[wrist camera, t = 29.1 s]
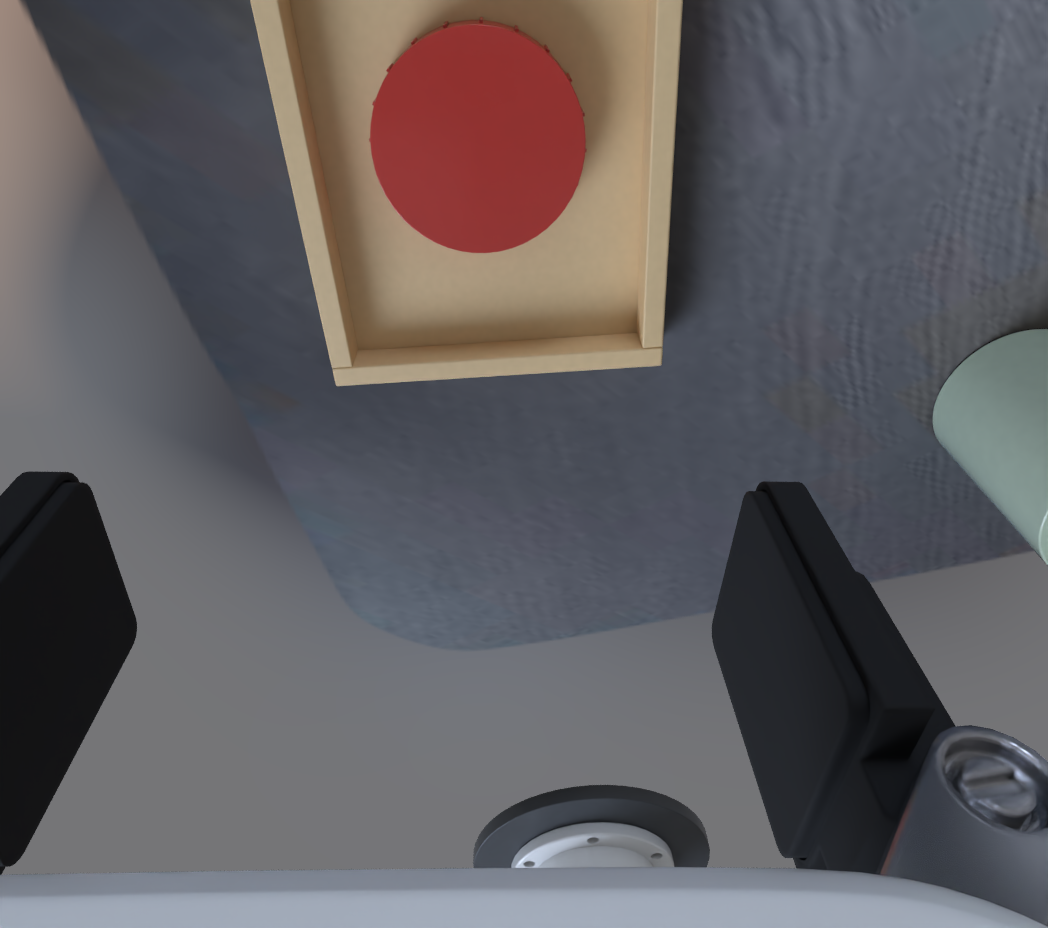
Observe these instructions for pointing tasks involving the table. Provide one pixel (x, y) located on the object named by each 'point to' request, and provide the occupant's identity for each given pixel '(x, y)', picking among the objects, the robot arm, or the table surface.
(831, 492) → the table surface
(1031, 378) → the jam jar
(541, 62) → the jar lid
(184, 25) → the table surface
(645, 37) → the tray
